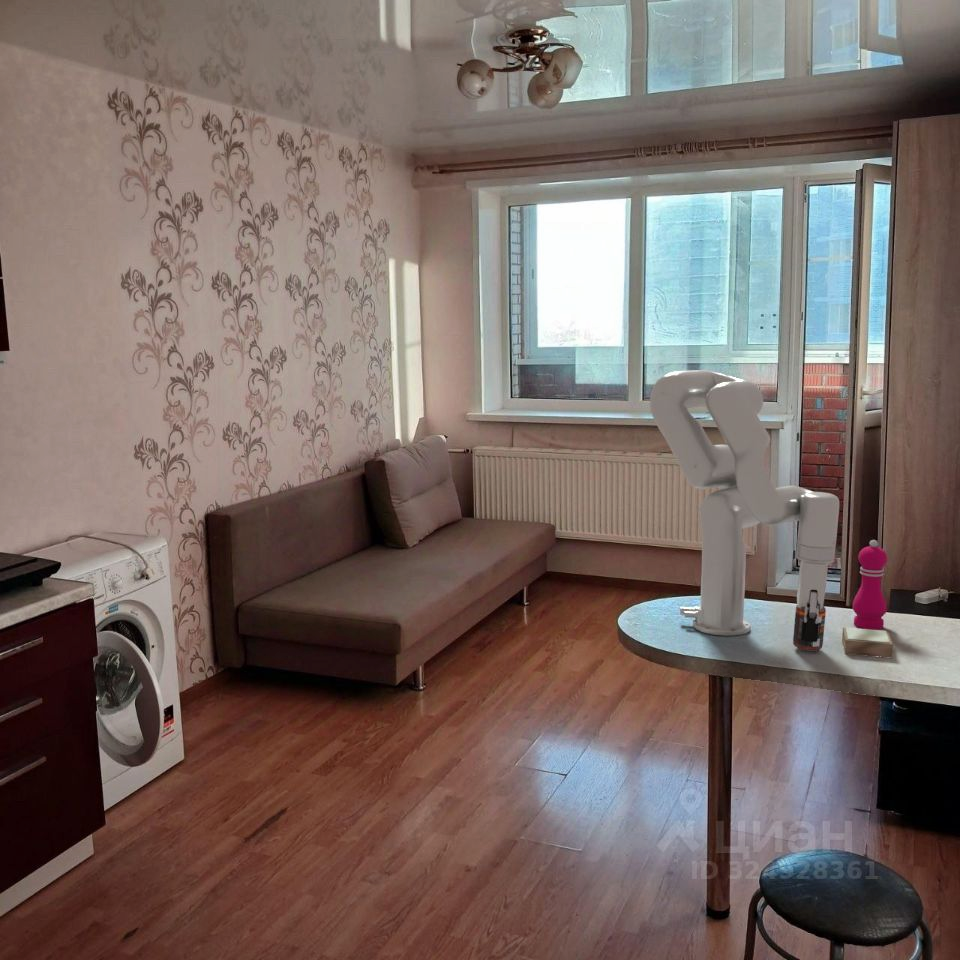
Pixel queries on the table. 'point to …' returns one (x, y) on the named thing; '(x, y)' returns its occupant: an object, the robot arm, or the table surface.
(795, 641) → the supplement bottle
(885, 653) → the base
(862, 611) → the pepper mill
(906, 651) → the table surface
